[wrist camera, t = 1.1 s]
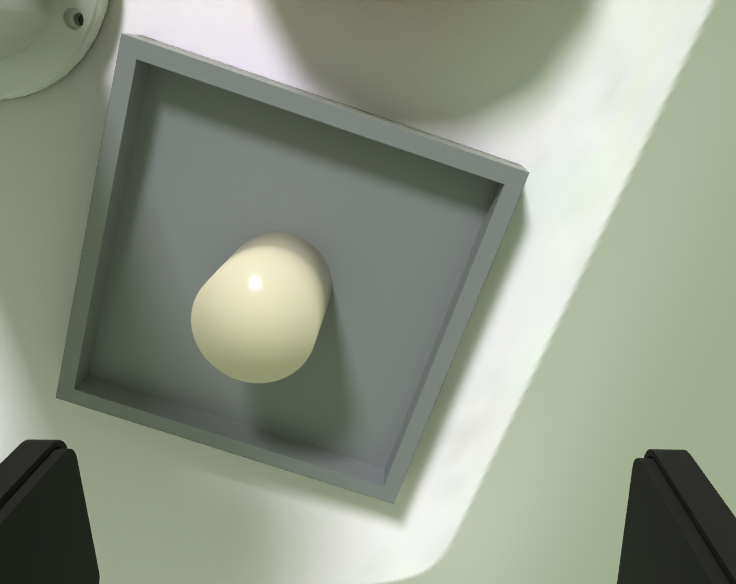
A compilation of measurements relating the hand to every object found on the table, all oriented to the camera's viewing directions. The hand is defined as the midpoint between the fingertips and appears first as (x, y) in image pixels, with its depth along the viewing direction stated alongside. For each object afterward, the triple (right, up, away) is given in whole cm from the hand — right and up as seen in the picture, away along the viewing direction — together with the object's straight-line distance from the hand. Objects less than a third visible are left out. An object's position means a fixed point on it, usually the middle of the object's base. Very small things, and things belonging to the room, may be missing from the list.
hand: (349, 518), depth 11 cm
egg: (-4, +4, +21) cm, 22 cm away
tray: (-4, +4, +22) cm, 22 cm away
